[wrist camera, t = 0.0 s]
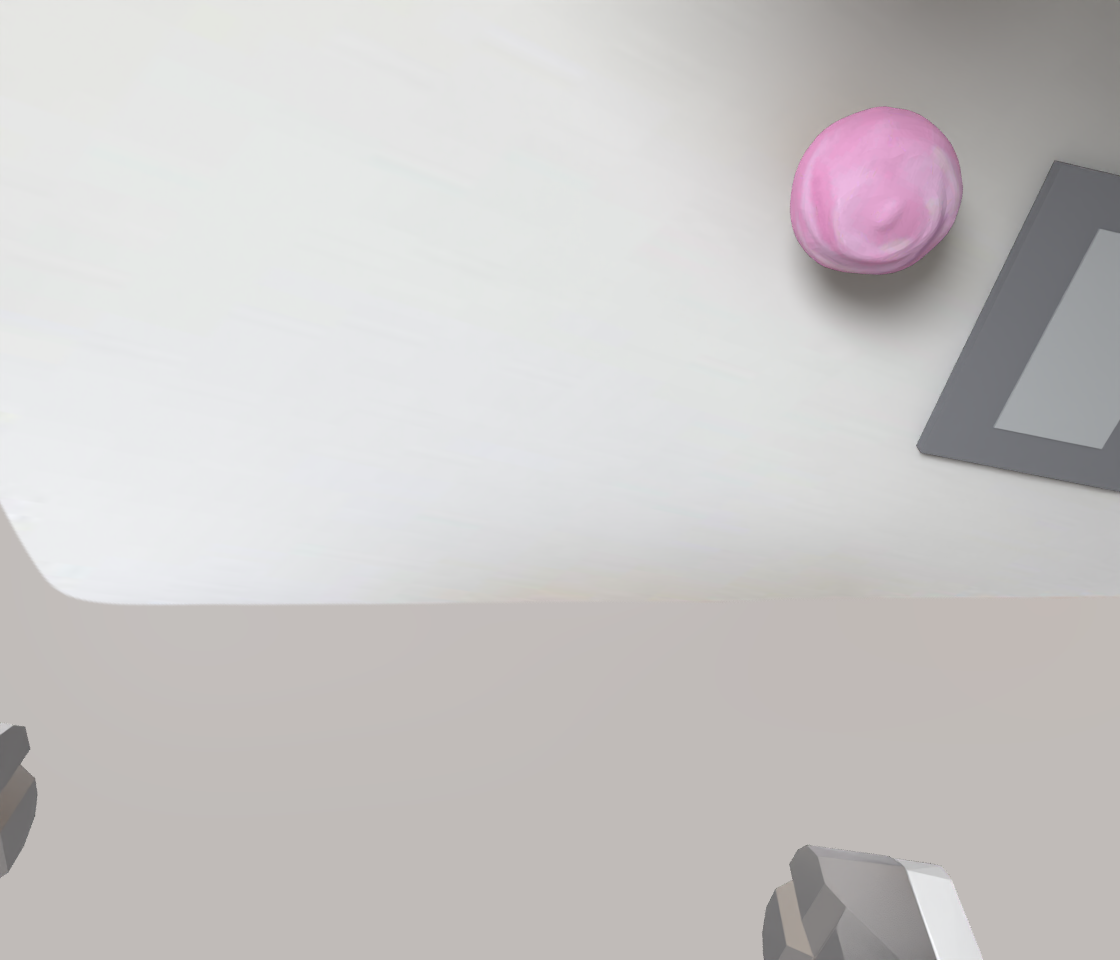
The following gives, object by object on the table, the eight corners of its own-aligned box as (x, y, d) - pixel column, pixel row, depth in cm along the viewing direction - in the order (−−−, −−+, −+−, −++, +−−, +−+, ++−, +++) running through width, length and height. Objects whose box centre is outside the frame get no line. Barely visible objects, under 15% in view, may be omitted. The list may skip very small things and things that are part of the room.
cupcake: (754, 228, 55) (785, 281, 47) (793, 78, 50) (836, 107, 42) (891, 249, 56) (947, 306, 47) (942, 103, 51) (1015, 137, 42)
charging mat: (1054, 160, 52) (1063, 165, 51) (1297, 216, 54) (1311, 222, 53) (916, 445, 63) (921, 453, 62) (1122, 486, 64) (1131, 495, 63)
